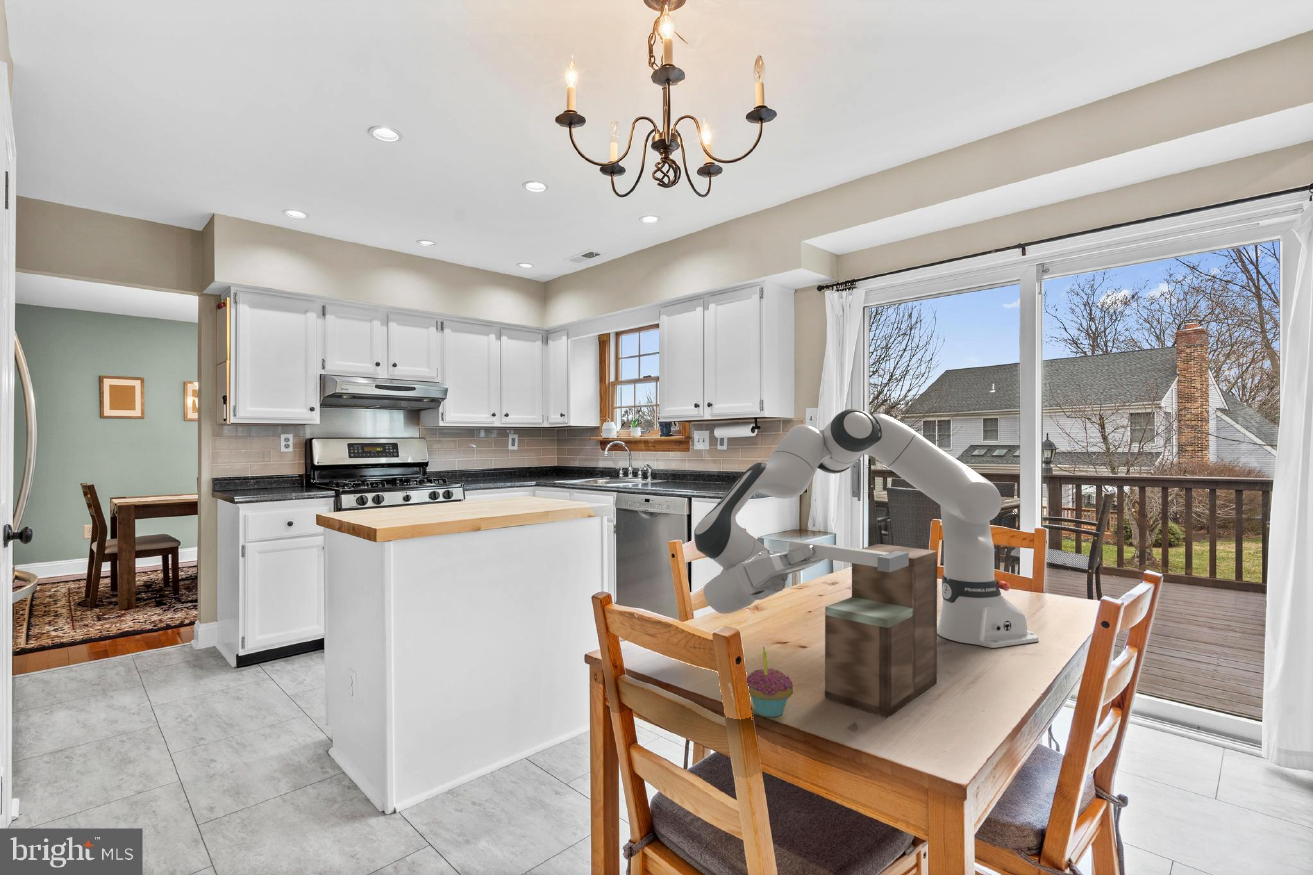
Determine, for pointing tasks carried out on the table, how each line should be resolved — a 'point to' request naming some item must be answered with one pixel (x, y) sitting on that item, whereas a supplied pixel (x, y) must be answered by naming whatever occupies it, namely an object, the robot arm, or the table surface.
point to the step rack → (884, 635)
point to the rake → (856, 555)
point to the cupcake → (769, 690)
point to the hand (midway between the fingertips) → (817, 547)
